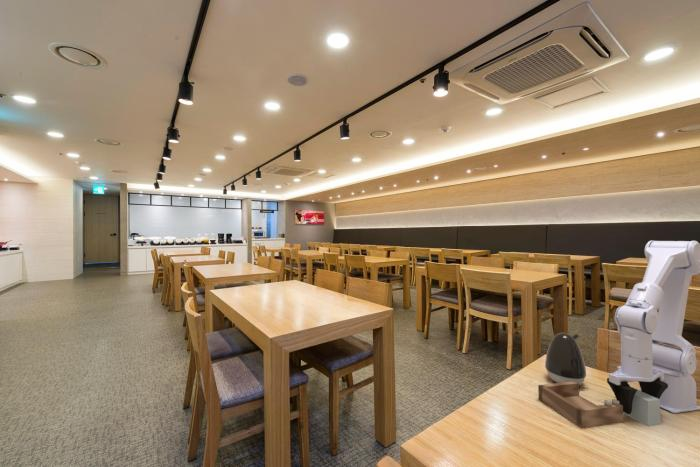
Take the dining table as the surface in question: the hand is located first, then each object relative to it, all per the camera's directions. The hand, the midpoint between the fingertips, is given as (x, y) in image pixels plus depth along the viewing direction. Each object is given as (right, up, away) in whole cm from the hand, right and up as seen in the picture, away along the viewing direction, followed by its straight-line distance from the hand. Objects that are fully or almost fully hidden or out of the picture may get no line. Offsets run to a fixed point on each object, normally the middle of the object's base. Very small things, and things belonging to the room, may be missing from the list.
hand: (637, 410), depth 74 cm
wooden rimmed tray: (-13, -2, +3) cm, 13 cm away
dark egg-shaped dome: (-5, -2, +17) cm, 18 cm away
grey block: (0, -2, 0) cm, 2 cm away
